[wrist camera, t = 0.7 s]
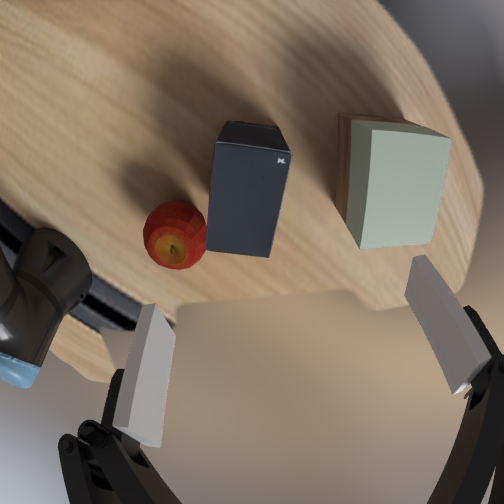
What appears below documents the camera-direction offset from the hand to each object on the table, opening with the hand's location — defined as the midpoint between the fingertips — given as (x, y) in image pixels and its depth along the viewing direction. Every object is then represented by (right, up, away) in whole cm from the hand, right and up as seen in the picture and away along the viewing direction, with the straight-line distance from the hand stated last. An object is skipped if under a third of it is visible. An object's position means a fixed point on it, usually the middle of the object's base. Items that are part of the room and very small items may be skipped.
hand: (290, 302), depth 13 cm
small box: (-3, +12, +18) cm, 22 cm away
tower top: (+13, +11, +14) cm, 22 cm away
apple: (-11, +7, +22) cm, 25 cm away
